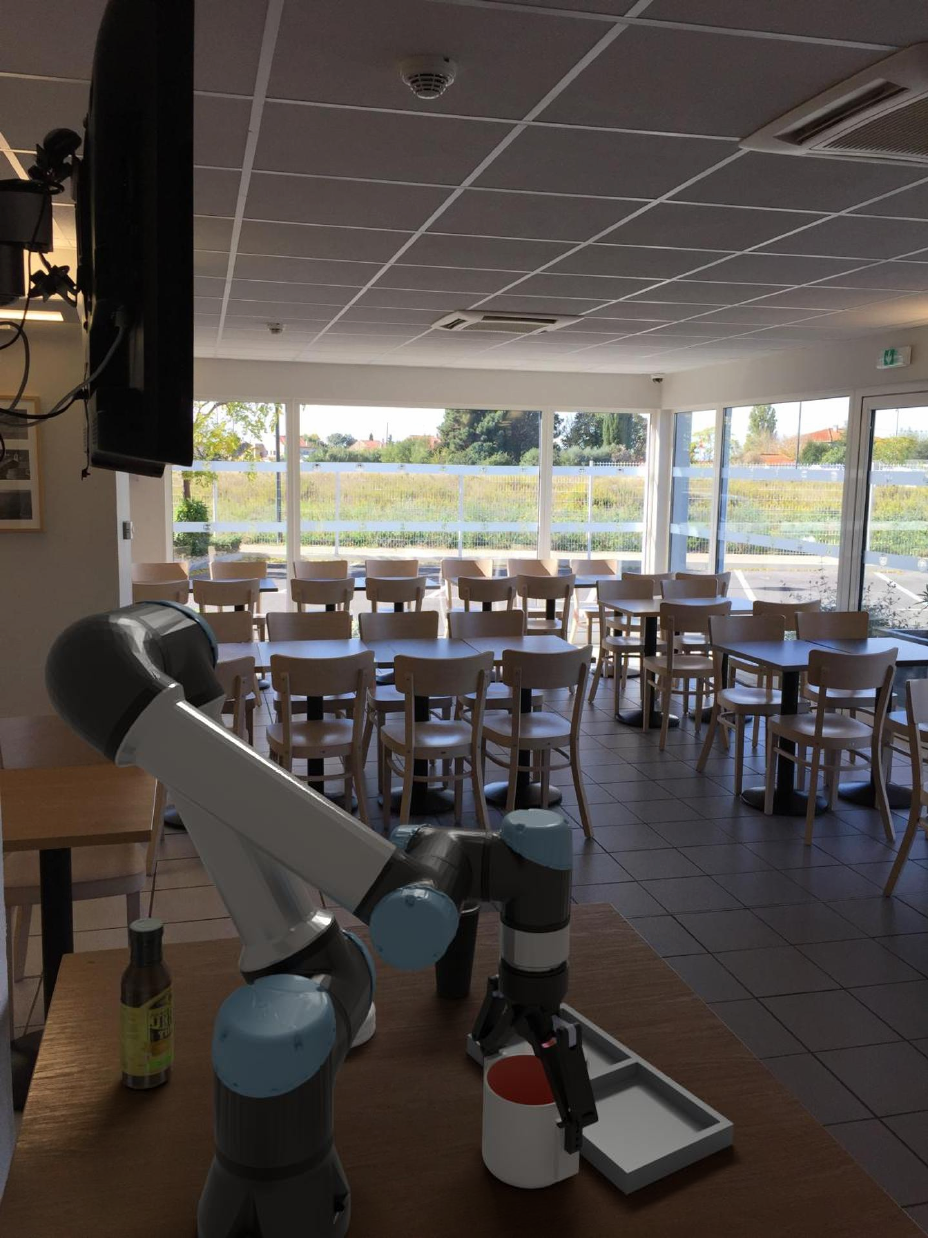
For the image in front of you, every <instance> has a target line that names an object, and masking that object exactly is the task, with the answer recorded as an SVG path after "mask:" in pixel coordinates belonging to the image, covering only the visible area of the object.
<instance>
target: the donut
mask: <svg viewBox="0 0 928 1238" xmlns="http://www.w3.org/2000/svg"><path fill="white" fill-rule="evenodd" d="M554 1044H555V1043H554V1038H552V1039H551V1040H550V1041H549V1042H547V1043H544V1044H542V1046H543V1047H544V1048H546V1047H549V1046H552V1045H554ZM582 1047H583V1046H582ZM583 1052H584V1056H585V1061H587V1059H588V1052H587V1050H586V1049H585V1048H584V1047H583ZM524 1053H525V1054H534V1051H533V1049H532V1046H531V1045H530V1044H529V1043H527V1044H526V1045H525V1047H524Z"/></svg>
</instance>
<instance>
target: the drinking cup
mask: <svg viewBox="0 0 928 1238" xmlns="http://www.w3.org/2000/svg"><path fill="white" fill-rule="evenodd" d="M482 906H483V902H476V901H466V903H465V905H464V908H463V910H462V913H461V916H460V919H459V926H458V928H457V930H456V935H455V937H454V939H453V940H452V942H451V943H450V944H449V945H448V947H447V950H446V952H445V954H444V955H443V956H442V957H441V958H440V959H439V960H438V961H437V962H436V963H434V970H435V981H436V982H435V984H436V992H437V994H438V995H439V996H440V997H442V998H445V999H449V1000H451V999H452V1000H456V999H457V1000H458V999H463V998H465V997H467V996H468V995H469V994H470V990H471V984H472V977H473V976H472V975H473V968H474V959H475V950H476V943H477V934H478V926H479V918H480V911H481V910H482Z"/></svg>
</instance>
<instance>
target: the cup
mask: <svg viewBox="0 0 928 1238" xmlns="http://www.w3.org/2000/svg"><path fill="white" fill-rule="evenodd" d="M483 1086H484V1095H483V1094H482V1095H483V1096H482V1098H483V1099H482V1100H483V1101H482V1134H481V1138H482V1141H481V1153H482V1154H481V1156H482V1159H483V1161H484V1164H485V1166H486V1167H487V1169H488V1170H489V1171H490V1173H491V1174H493V1176H495V1177H496V1178H497V1179H498V1180H500V1181H501V1182H503V1183H505V1184H507V1185H510V1186H513V1187H515V1188H516V1187H518V1188H520V1189H521V1188H523V1189H539V1188H540V1189H541V1188H545V1187H549V1186H551V1185H553V1184H556V1183H557V1182H558V1181H557V1180H556V1179H555V1178H554V1150H555V1120H556V1119H559V1118H561V1117H560V1114H559V1111H558V1109H557V1106H556V1103H555V1100H554V1097H553V1094H552V1091H551V1088H550V1085H549V1082H548V1080H547V1077H546V1074H545V1071H544V1068H543V1065H542V1062H541V1060H540V1059H538V1058H537V1057H536V1056H535V1054H516V1055H510V1056H506V1057H503V1058H501V1059H499V1060H497V1061H495V1062H494V1063H492V1064H491V1065H490V1066H489V1067H488V1069H487V1070H486V1072H485V1075H484V1077H483ZM569 1111H570V1109H569Z"/></svg>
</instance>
